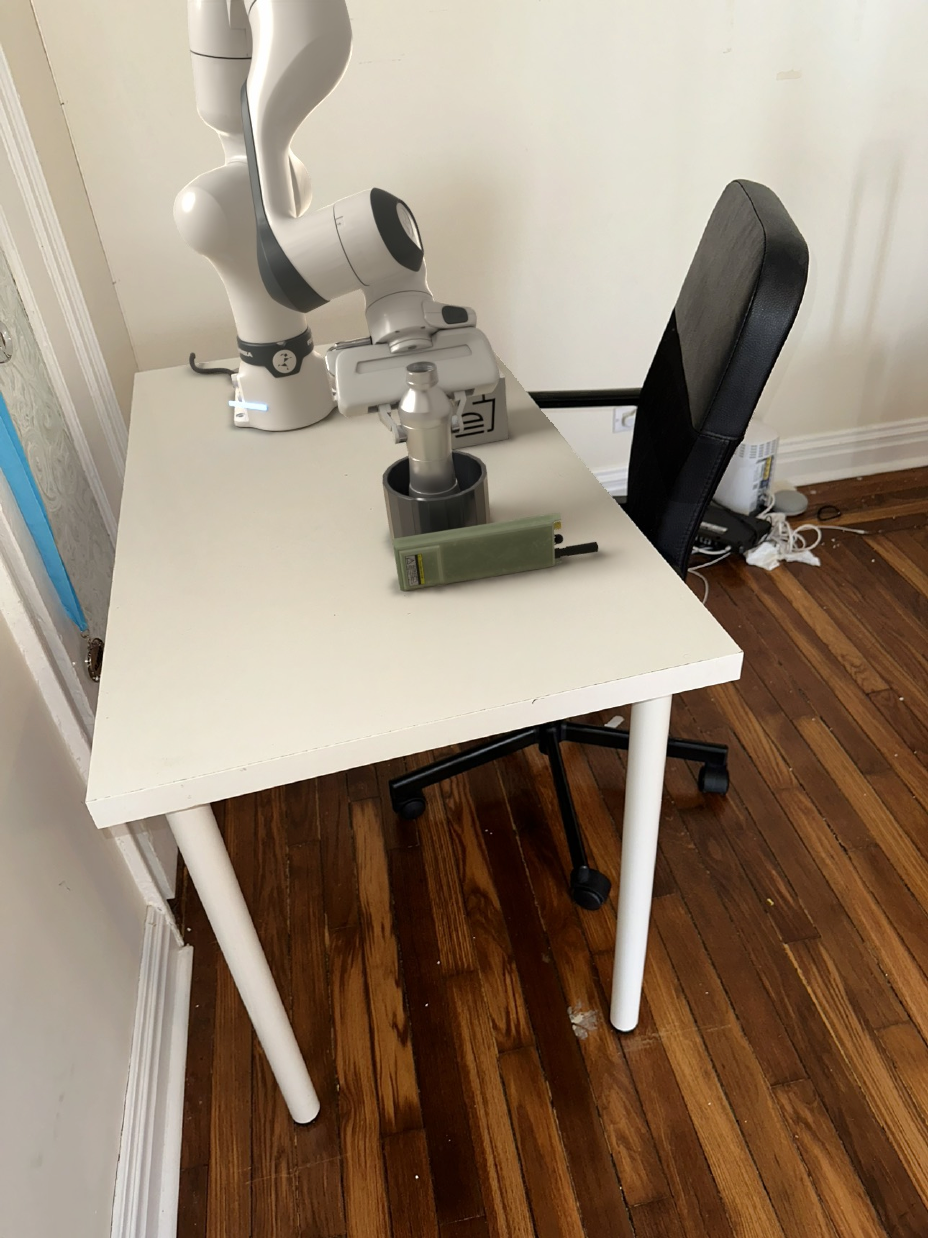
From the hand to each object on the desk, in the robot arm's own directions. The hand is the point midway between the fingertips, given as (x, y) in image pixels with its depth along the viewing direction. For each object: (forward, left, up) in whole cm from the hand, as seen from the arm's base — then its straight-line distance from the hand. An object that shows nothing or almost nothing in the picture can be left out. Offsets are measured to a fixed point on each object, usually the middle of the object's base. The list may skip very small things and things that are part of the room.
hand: (429, 436), depth 112 cm
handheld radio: (+11, +4, -15) cm, 19 cm away
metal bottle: (-1, 0, -12) cm, 12 cm away
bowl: (-1, 0, -14) cm, 14 cm away
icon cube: (-27, +15, -15) cm, 34 cm away
